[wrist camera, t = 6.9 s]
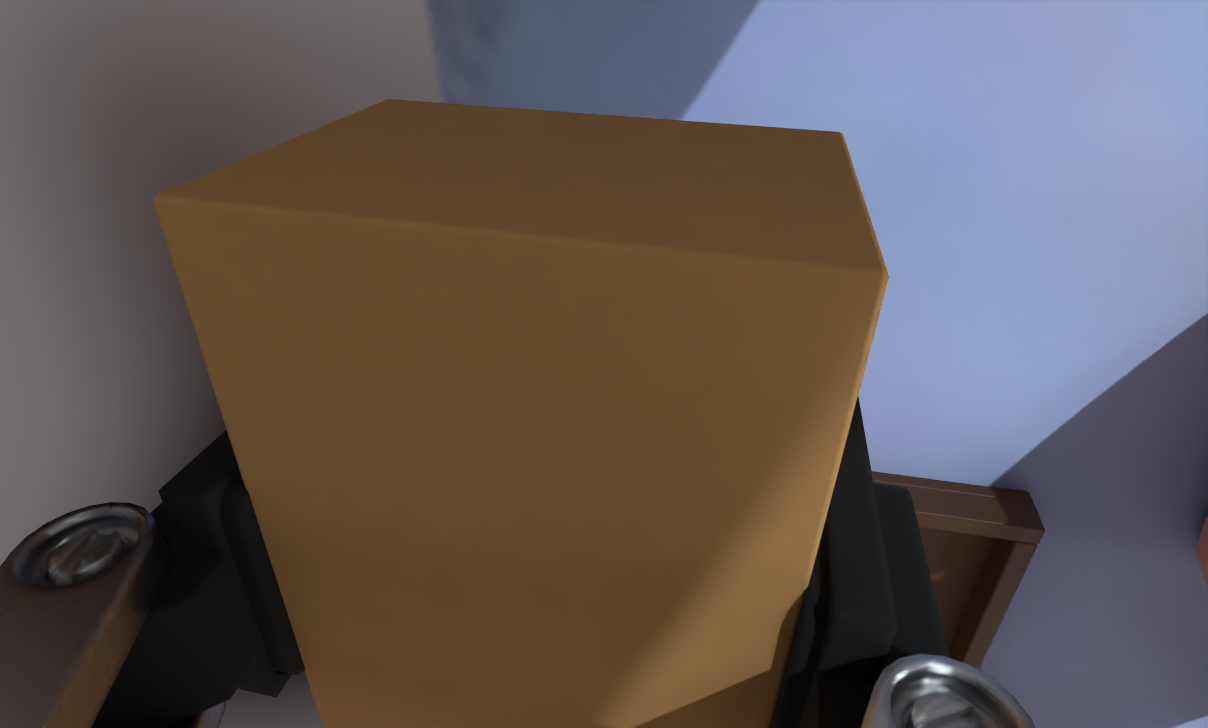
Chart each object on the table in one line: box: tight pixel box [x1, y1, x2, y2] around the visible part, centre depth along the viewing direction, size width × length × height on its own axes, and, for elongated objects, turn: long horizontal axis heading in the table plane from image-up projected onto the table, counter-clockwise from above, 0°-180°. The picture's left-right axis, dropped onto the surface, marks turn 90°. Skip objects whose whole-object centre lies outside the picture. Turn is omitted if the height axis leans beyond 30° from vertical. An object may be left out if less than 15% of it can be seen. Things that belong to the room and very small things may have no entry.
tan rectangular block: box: [153, 99, 888, 728], centre depth 9 cm, size 9×6×4 cm, turn 178°
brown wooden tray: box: [871, 471, 1045, 670], centre depth 32 cm, size 16×11×2 cm
